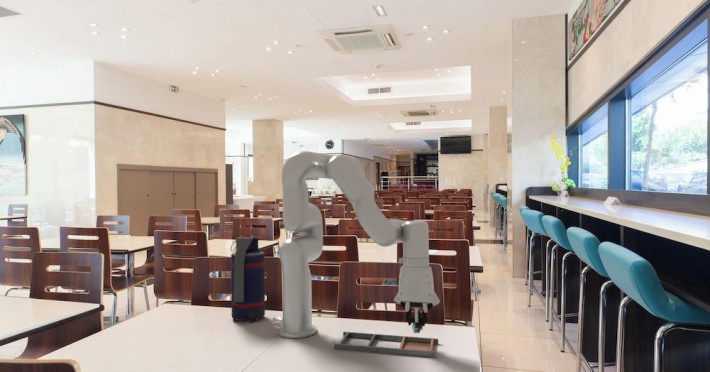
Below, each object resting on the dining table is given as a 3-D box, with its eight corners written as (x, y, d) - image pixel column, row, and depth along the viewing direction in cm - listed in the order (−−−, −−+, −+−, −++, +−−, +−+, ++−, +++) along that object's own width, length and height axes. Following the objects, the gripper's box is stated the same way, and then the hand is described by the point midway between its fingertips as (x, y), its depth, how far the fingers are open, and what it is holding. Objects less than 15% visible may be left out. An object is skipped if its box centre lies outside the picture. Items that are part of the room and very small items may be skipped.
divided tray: (333, 348, 129) (333, 343, 129) (343, 336, 140) (343, 331, 140) (436, 357, 122) (436, 352, 122) (438, 343, 133) (438, 338, 133)
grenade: (240, 313, 167) (240, 234, 167) (270, 314, 164) (269, 235, 164) (222, 324, 153) (222, 239, 153) (254, 326, 151) (253, 239, 151)
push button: (425, 335, 125) (424, 300, 125) (406, 334, 126) (405, 299, 126) (427, 328, 131) (426, 295, 131) (409, 327, 133) (409, 294, 133)
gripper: (386, 263, 127) (387, 326, 127) (443, 265, 123) (444, 330, 123) (390, 259, 135) (391, 319, 135) (445, 261, 131) (445, 322, 131)
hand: (416, 323), depth 129 cm, fingers closed on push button, 3 cm apart
